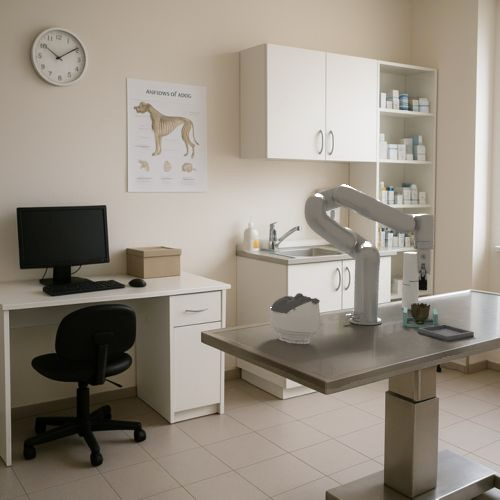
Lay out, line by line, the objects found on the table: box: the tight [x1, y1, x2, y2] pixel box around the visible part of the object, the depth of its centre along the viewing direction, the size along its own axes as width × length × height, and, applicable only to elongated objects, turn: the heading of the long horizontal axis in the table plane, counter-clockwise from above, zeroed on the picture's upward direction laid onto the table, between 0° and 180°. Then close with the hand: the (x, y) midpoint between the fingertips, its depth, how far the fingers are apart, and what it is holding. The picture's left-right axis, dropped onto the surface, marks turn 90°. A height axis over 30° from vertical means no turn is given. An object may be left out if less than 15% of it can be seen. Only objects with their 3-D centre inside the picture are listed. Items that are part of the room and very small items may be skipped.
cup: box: [410, 302, 431, 325], centre depth 244 cm, size 8×7×8 cm
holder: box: [402, 307, 439, 328], centre depth 244 cm, size 12×13×6 cm
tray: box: [417, 323, 475, 342], centre depth 228 cm, size 14×14×2 cm
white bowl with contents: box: [269, 292, 321, 345], centre depth 217 cm, size 13×17×20 cm
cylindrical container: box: [401, 251, 420, 310], centre depth 274 cm, size 7×7×25 cm
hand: (422, 288), depth 242 cm, fingers open, 9 cm apart
